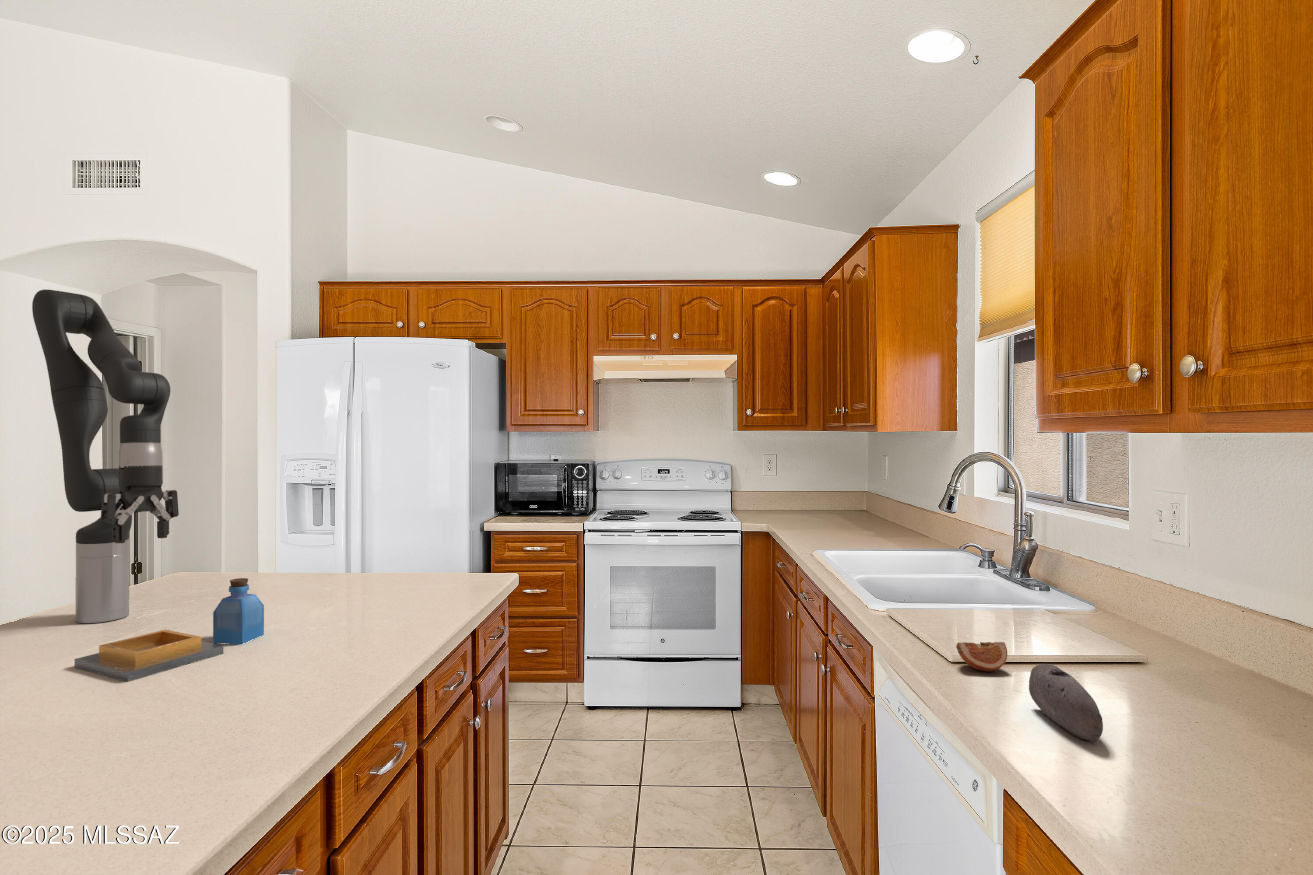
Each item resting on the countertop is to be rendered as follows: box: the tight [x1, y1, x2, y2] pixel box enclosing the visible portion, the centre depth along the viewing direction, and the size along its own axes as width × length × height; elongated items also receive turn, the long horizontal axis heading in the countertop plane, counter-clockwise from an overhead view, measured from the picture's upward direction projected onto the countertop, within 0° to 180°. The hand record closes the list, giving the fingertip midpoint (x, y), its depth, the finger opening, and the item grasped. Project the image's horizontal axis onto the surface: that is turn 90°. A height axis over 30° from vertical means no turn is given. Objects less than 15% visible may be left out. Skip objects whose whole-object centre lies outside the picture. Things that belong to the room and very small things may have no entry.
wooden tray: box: [74, 629, 224, 683], centre depth 123 cm, size 16×16×4 cm
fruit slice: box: [955, 641, 1008, 673], centre depth 121 cm, size 8×7×5 cm
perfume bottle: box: [212, 577, 265, 645], centre depth 136 cm, size 6×6×12 cm
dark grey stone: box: [1028, 663, 1104, 742], centre depth 97 cm, size 15×5×7 cm, turn 175°
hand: (141, 540), depth 145 cm, fingers open, 8 cm apart
